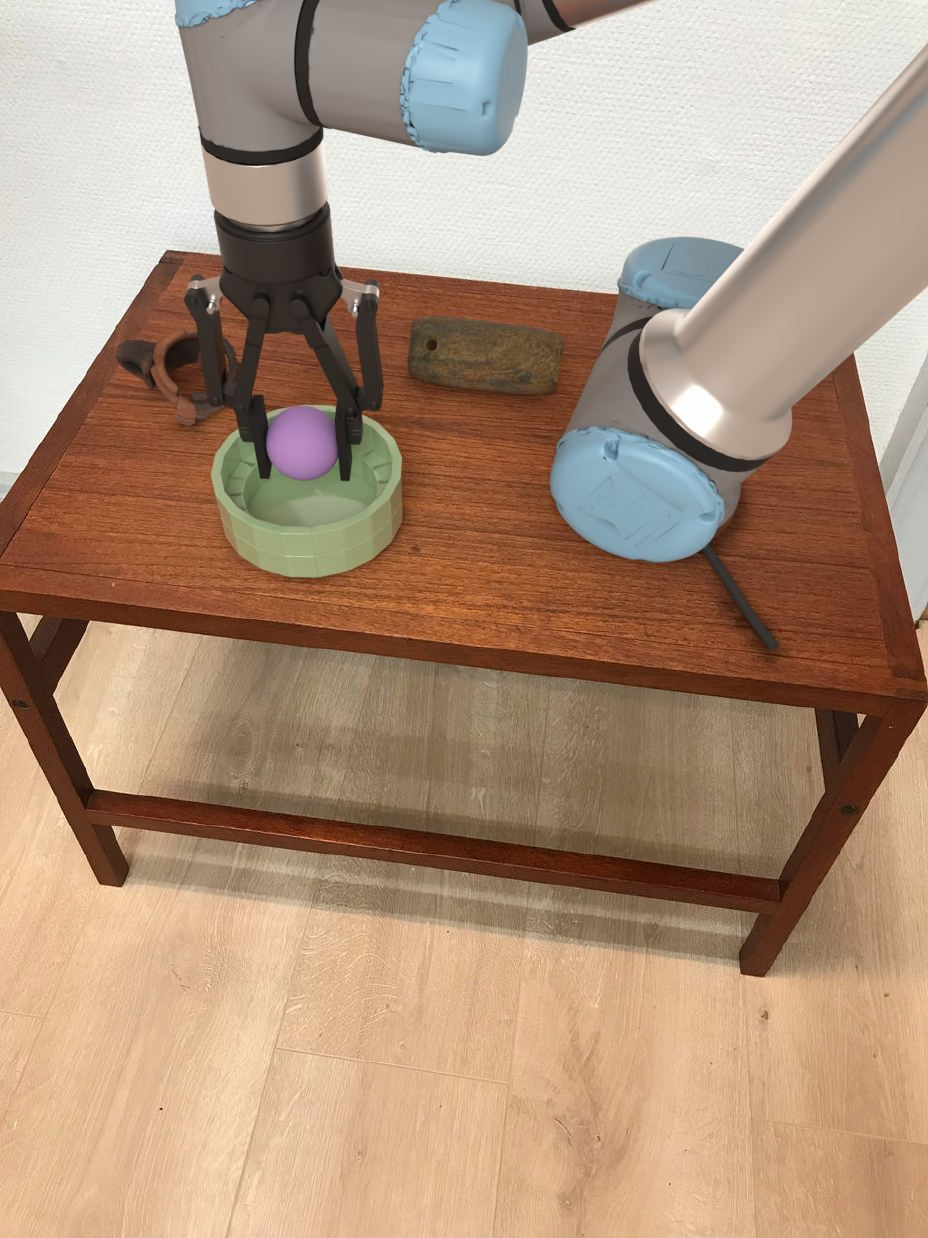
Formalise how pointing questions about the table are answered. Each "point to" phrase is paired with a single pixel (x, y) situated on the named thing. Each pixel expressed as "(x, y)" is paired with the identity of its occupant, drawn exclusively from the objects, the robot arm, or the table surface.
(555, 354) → the stone weight
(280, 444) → the ball
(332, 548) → the bowl
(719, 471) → the robot arm
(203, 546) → the table surface
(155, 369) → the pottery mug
